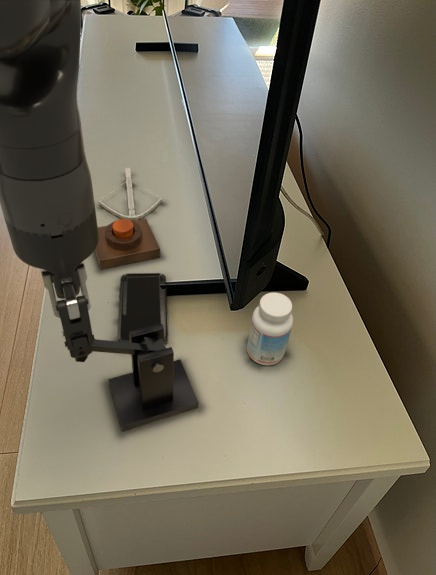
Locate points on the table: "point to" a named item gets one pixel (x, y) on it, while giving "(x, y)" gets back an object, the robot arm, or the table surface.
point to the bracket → (151, 385)
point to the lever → (126, 347)
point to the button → (123, 228)
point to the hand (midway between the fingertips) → (74, 323)
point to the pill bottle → (270, 329)
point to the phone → (141, 303)
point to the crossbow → (130, 201)
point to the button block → (126, 245)
